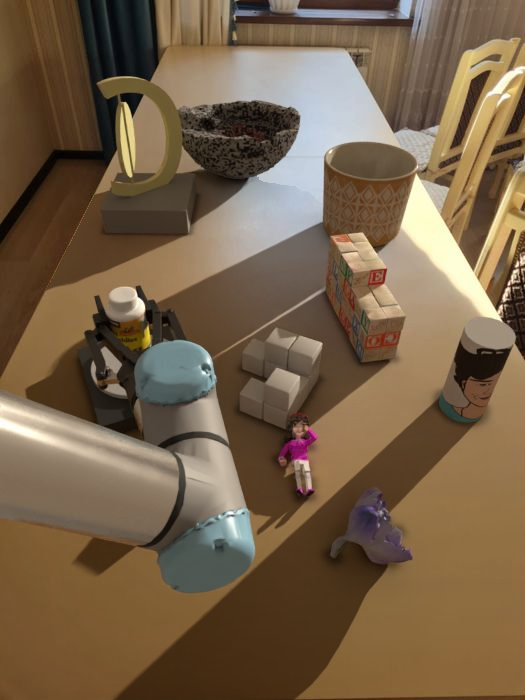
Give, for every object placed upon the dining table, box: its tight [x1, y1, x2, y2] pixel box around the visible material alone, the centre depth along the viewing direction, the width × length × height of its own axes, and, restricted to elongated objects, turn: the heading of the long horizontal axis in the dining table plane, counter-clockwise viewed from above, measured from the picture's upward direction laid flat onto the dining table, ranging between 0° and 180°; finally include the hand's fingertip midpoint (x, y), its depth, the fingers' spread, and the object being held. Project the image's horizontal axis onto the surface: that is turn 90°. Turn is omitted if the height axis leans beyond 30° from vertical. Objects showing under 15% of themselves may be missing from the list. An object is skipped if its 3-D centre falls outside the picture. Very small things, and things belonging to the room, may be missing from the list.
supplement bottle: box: [105, 286, 151, 351], centre depth 80 cm, size 6×6×10 cm
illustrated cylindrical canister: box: [438, 316, 517, 424], centre depth 79 cm, size 7×7×15 cm
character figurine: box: [277, 412, 319, 498], centre depth 74 cm, size 6×5×12 cm
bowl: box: [177, 99, 301, 180], centre depth 140 cm, size 31×31×15 cm
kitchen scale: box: [76, 324, 174, 433], centre depth 86 cm, size 16×18×3 cm
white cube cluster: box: [238, 327, 323, 430], centre depth 83 cm, size 12×12×8 cm
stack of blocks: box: [325, 233, 407, 363], centre depth 94 cm, size 21×6×12 cm, turn 12°
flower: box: [329, 486, 414, 565], centre depth 64 cm, size 9×9×10 cm
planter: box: [322, 141, 419, 248], centre depth 117 cm, size 19×19×16 cm
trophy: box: [96, 75, 197, 235], centre depth 117 cm, size 19×19×30 cm
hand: (119, 297), depth 82 cm, fingers closed on supplement bottle, 6 cm apart
